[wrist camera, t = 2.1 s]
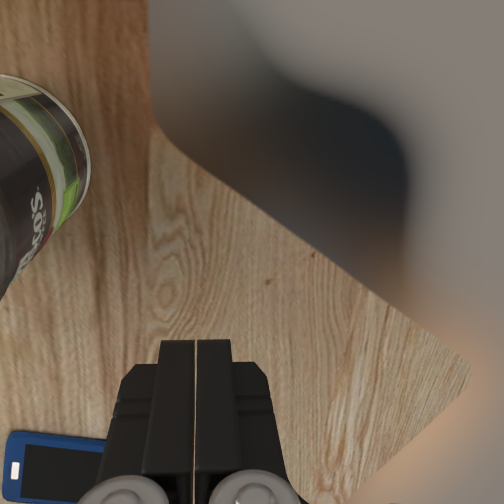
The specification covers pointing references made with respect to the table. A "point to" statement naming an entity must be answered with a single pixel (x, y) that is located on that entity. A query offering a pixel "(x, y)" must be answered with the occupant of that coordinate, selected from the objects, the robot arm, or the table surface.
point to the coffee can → (36, 172)
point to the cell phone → (49, 468)
